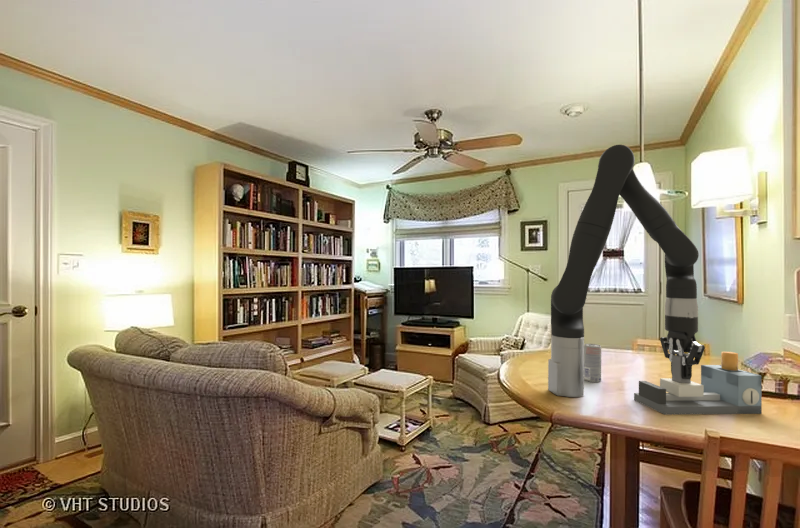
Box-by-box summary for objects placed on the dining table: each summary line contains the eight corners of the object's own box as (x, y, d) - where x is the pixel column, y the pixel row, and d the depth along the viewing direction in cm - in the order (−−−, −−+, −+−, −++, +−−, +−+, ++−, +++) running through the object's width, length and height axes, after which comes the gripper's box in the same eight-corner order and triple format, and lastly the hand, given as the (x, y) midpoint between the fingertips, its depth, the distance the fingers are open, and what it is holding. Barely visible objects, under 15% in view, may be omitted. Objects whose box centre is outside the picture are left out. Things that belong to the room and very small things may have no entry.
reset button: (729, 370, 110) (729, 354, 110) (718, 367, 114) (718, 351, 114) (741, 370, 110) (741, 354, 110) (729, 367, 114) (729, 351, 114)
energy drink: (597, 378, 139) (597, 343, 140) (603, 382, 134) (603, 346, 134) (581, 378, 140) (581, 343, 140) (587, 382, 134) (587, 346, 135)
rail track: (665, 415, 103) (666, 376, 104) (634, 399, 116) (634, 365, 116) (763, 414, 105) (763, 376, 106) (721, 399, 118) (721, 365, 118)
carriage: (678, 396, 107) (678, 358, 107) (659, 389, 114) (660, 353, 114) (703, 396, 108) (703, 358, 108) (683, 388, 115) (683, 353, 115)
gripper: (650, 311, 118) (650, 371, 118) (688, 317, 104) (688, 384, 104) (674, 312, 119) (674, 371, 118) (715, 317, 105) (715, 384, 104)
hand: (681, 376), depth 111 cm, fingers closed on carriage, 3 cm apart
